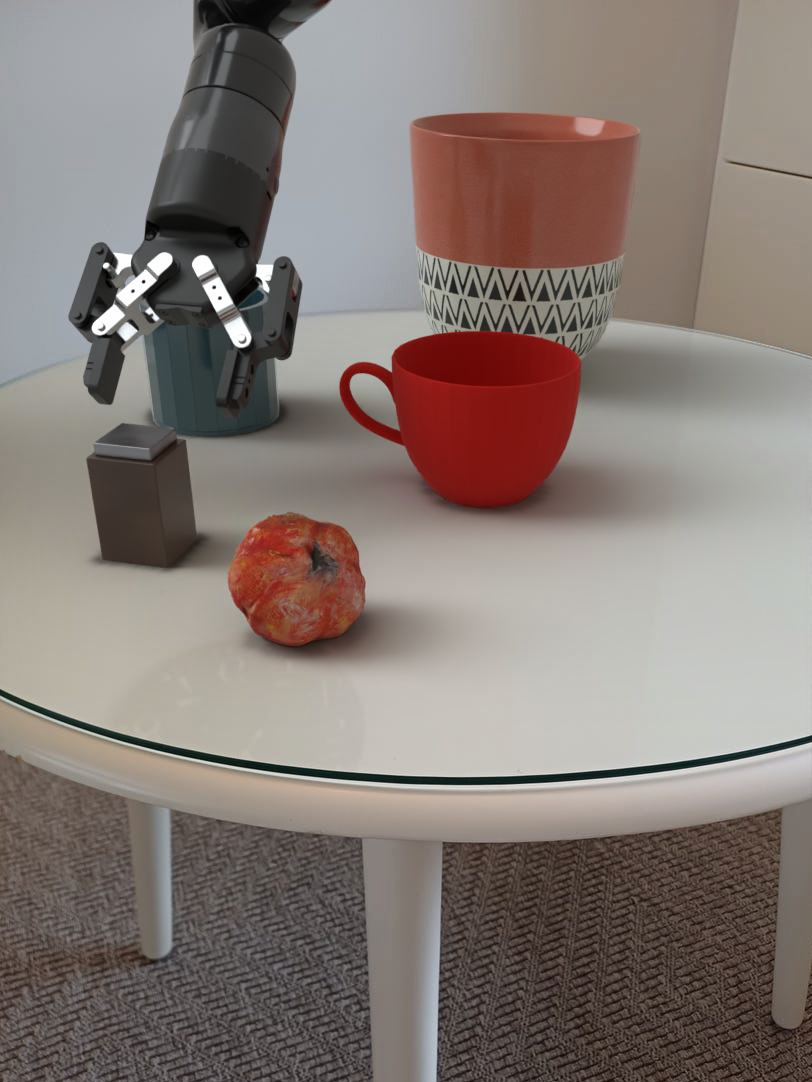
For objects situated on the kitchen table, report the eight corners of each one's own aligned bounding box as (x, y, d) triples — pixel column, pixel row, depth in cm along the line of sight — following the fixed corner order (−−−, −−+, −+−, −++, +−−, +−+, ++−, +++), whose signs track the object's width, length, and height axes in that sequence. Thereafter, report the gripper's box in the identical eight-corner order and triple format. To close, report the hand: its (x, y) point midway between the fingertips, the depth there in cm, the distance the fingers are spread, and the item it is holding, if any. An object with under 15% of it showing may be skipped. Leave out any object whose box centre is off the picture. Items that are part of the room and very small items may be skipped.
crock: (143, 441, 88) (126, 313, 83) (164, 398, 97) (150, 280, 92) (274, 441, 89) (265, 314, 84) (284, 399, 98) (276, 281, 93)
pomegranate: (220, 663, 65) (252, 637, 56) (208, 539, 66) (237, 494, 57) (344, 653, 68) (394, 627, 59) (331, 534, 69) (378, 490, 59)
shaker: (102, 566, 70) (83, 444, 66) (135, 536, 74) (118, 419, 70) (168, 574, 69) (152, 452, 65) (198, 544, 73) (185, 426, 69)
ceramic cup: (366, 448, 88) (363, 320, 83) (580, 468, 86) (590, 338, 81) (317, 515, 77) (309, 373, 72) (561, 540, 75) (571, 394, 70)
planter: (470, 334, 117) (474, 107, 106) (648, 364, 109) (673, 123, 98) (371, 386, 101) (365, 127, 91) (570, 424, 94) (589, 147, 83)
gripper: (92, 138, 72) (27, 367, 68) (305, 150, 69) (250, 388, 66) (141, 210, 79) (85, 421, 75) (335, 224, 77) (287, 442, 73)
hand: (162, 405), depth 70 cm, fingers open, 8 cm apart
